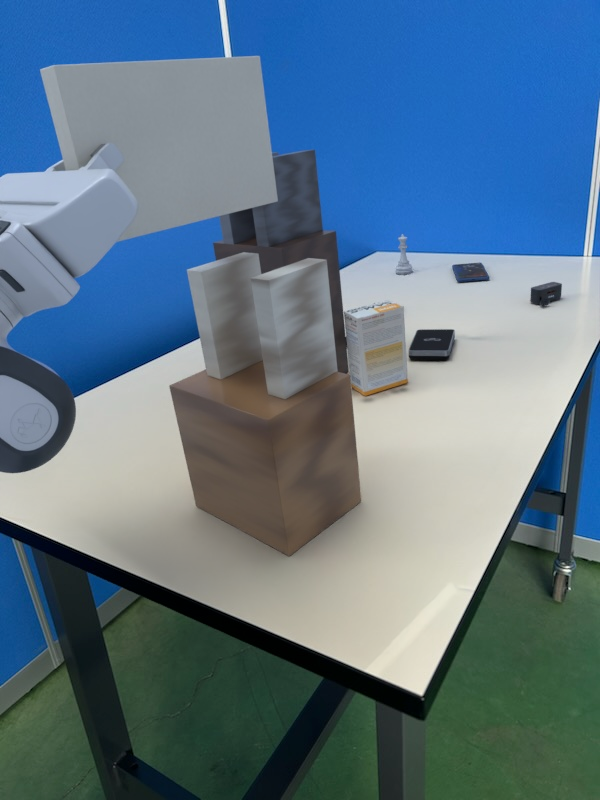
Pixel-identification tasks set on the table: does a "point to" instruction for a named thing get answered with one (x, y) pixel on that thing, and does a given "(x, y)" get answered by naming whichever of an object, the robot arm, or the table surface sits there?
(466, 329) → the table surface
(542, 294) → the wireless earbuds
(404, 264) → the chess piece
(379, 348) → the supplement box
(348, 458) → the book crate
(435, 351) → the external hard drive
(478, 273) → the smartphone
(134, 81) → the white book
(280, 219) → the bookstand
